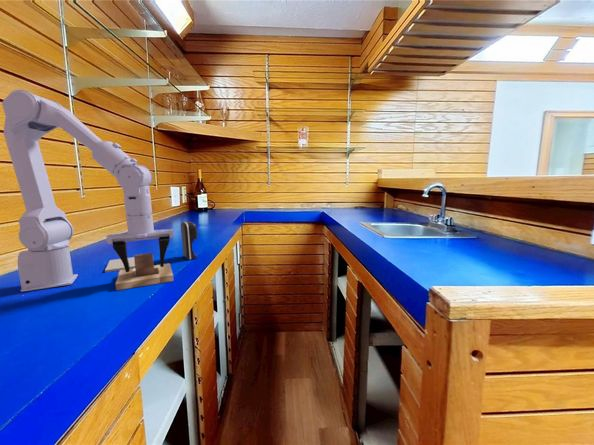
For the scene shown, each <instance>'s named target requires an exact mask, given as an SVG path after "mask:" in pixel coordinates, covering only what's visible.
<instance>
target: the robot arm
mask: <svg viewBox="0 0 594 445" xmlns="http://www.w3.org/2000/svg"><path fill="white" fill-rule="evenodd" d="M1 105H2V109H3V111H4V116H5V119H4V127H3V136H4V140H5V142H6V147H7V149H8V153H9V156H10V160H11V163H12V165H13V169H14V172H15V177H16V180H17V184H18V187H19V190H20V193H21V197H22V200H23V204H24V207H25V212H24V213H23V214H22V215H21V216H20V218H19V219H18V224H19V231H18V239H19V242H20V243H21V244H22V246H23V247H25V248H26V249H27V250H22V251H20V252H19V253H18V255H17V269H18V276H19V281H20V287H21V289H20V292H22V293H23V292H28V291H35V290H42V289H49V288H55V287H57V288H58V287H62V286H69V285H72V284H73V283H74V282H75V280H76V279H77V278H78V277H79V274H78V273H75V274H74V272H73V266H72V260H71V254H70V253H71V252H70V251H71V250H70V246H69V245H70V244H71V243H70V240H71V239H72V238H73V236H74V232H75V230H74V226H73V225H72V223H71V222H70V221H69V220H68V218H67V216H66V215H67V214H66V213H65V211H63V210H62V209H60V208H59V207H57V205H56V202H55V198H54V194H53V191H52V187H51V184H50V180H49V176H48V172H47V169H46V166H45V163H44V158H43V155H42V151H41V148H40V144H39V141H40V139H42V138H43V136H45V135H47V134H49V133H50V132H52V131H54V130H55V129H57V128H59V129H61V130H63V131H64V132H66V134H68V135H69V136H71V137H73V138H74V139H75V140H77V141H78V142H79V143H80V144H82V145H83V146H85V147H86V148H87V149H88V150H90V151H91V158H92V159H93V160H94V161H95V162H96V163H98V164H99V165H100V166H101V167H102V168H103V169H105V170H106V171H107V172H109V174H111V175H112V176H114V177H115V179H116V182H117V184H118V185H119V186H120V187H121V188H122V190H123V199H124V200H123V201H124V210H125V218H126V220H125V221H126V228H127V232H122V233H115V234H108V235H106V244H107V245H112V248H113V250H114V252H115V253H116V254H117V256H118V257H119V259H121V260H122V262H123V265H124V267H125V270H126V272H129V270H130V269H129V262H128V258H129V257H128V250H127V249H128V248H127V243H129V242H136V241H146V240H155V239H158V246H159V247H158V248H159V249H158V250H159V265H160V266H161V267H164V264H165V263H164V262H165V257H166V252H167V250H168V246H169V244H170V241H171V240H170V238H174V237H175V234H174V229H173V228H170V229H166V228H165V229H155V228H154V218H153V208H152V207H153V206H152V196H151V191H150V190H151V189H150V185H151V184H152V181H153V175H152V172H151V170H150V169H148V166H146V165H143V164H138V160H137V159H136V158H134V157H131V156H129V155H128V154H127V153H126V152H125V151H123V150H122V149H121V148H122V146H121V145H120V144H119V143H117V142H113V141H109V140H107V141H103V140H102V139H101V138H100V137H99V136H97V134H95V133H94V132H93V131H92V130H91V129H89V128H88V126H86V125H85V124H84V123H83V122H82V121H80V120H79V119H78V118H77V116H76V115H74V114H73V113H72V112H71V111H70V110H68V109H67V108H66V107H64V106H62V105H61V104H60V103H59V102H57V101H55V100H52V99H47V98H45V97H42V96H39V95H36V94H34V93H32V92H30V91H28V90H24V89H16V90H12V91H11V92H9V94H8V95H7V96H6V97H5V99H4V100H3V101H2V102H1Z"/></svg>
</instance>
